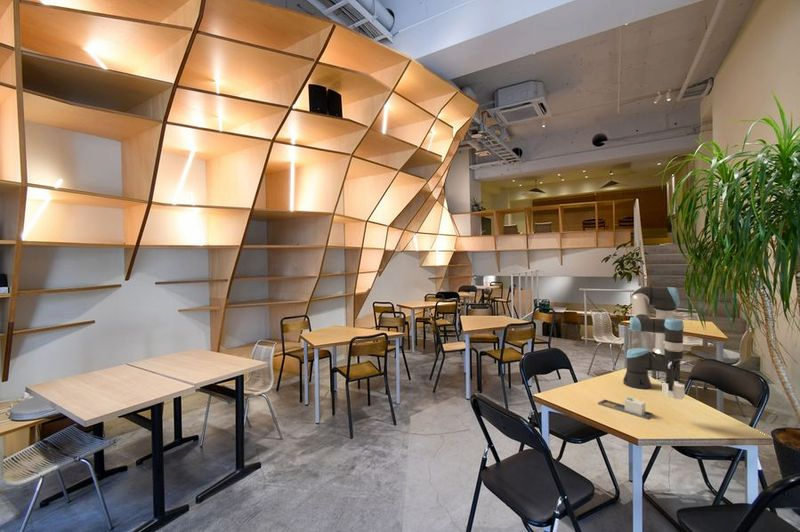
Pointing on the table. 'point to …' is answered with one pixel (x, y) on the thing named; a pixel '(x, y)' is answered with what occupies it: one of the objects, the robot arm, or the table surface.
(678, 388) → the block
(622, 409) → the rail
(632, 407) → the module seated
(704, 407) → the table surface
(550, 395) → the table surface
